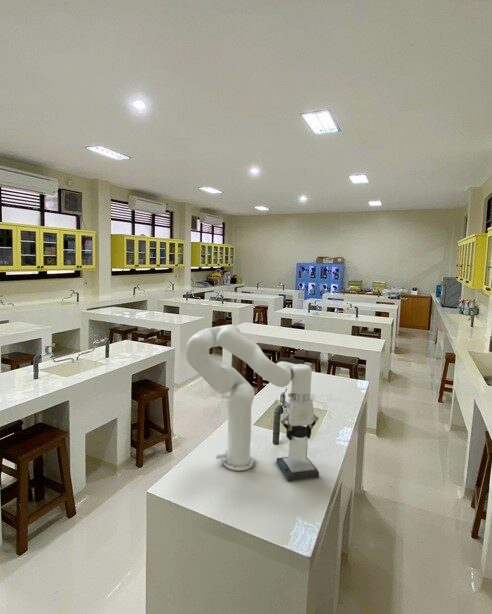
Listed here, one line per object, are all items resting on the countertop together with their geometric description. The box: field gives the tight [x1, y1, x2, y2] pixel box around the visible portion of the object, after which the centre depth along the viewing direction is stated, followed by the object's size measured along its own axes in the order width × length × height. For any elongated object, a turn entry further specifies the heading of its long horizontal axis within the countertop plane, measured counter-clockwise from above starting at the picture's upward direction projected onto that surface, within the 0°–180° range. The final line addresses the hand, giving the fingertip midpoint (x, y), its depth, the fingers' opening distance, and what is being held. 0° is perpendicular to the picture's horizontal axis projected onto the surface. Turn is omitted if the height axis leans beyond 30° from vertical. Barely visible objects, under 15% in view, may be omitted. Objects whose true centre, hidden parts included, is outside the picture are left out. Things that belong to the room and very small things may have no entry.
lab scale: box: [275, 456, 320, 482], centre depth 153 cm, size 13×13×3 cm
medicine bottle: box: [287, 425, 309, 460], centre depth 151 cm, size 7×7×12 cm
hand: (298, 437), depth 151 cm, fingers closed on medicine bottle, 7 cm apart
